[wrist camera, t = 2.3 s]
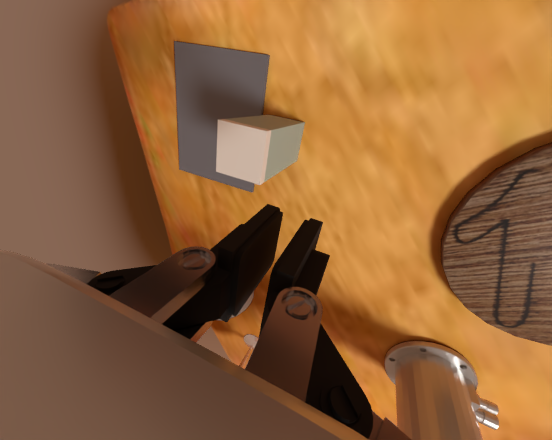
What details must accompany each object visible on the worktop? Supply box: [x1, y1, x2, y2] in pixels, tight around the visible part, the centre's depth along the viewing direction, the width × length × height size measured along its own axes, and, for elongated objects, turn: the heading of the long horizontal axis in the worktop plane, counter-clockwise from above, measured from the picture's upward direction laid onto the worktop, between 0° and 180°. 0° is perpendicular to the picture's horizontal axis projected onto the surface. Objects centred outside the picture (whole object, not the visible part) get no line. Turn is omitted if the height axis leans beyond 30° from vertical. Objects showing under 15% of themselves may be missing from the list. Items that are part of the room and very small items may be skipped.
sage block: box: [216, 115, 305, 185], centre depth 28 cm, size 5×5×12 cm
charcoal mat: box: [174, 41, 270, 192], centre depth 35 cm, size 14×18×1 cm
